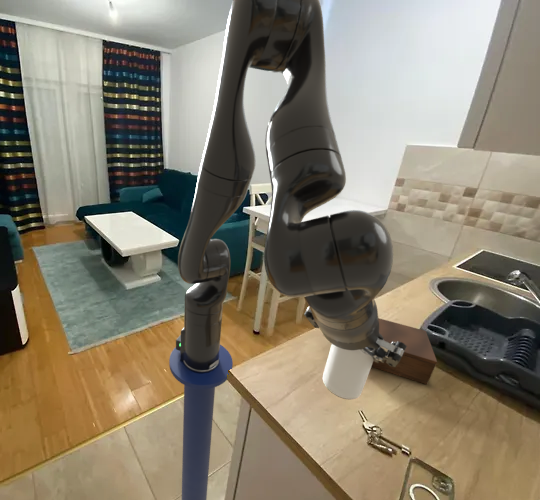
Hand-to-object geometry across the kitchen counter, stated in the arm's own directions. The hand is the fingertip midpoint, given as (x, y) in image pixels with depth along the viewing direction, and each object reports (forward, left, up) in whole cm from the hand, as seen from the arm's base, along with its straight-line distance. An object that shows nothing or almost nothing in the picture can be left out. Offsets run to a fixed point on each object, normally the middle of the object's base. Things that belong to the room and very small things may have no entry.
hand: (356, 345), depth 50 cm
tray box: (+11, +28, -19) cm, 35 cm away
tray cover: (+10, +28, -13) cm, 32 cm away
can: (-1, -2, -9) cm, 9 cm away
